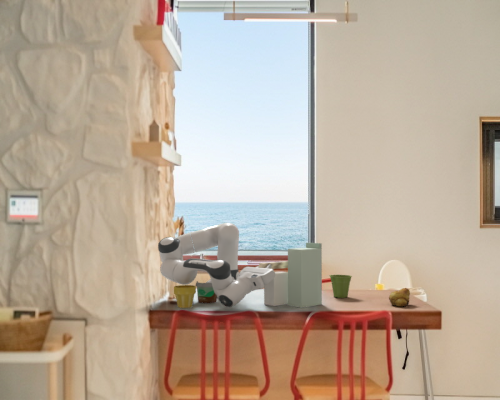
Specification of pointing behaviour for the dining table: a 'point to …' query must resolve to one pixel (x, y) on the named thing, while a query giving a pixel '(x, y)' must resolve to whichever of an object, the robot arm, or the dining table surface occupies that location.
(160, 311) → the dining table surface
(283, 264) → the rail
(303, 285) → the pale green block
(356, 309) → the dining table surface
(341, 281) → the plant pot
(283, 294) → the block
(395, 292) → the bread roll
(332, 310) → the dining table surface
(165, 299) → the dining table surface
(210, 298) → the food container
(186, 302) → the plant pot
